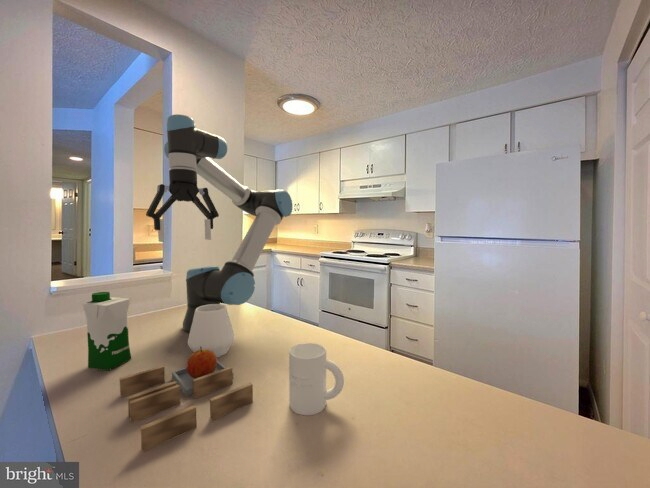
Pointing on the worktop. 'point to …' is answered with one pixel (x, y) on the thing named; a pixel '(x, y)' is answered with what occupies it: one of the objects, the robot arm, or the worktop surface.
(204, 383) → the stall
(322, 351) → the mug
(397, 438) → the worktop surface
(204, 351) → the fruit
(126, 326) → the milk carton
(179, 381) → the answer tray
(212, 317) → the cup
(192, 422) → the stall
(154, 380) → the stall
